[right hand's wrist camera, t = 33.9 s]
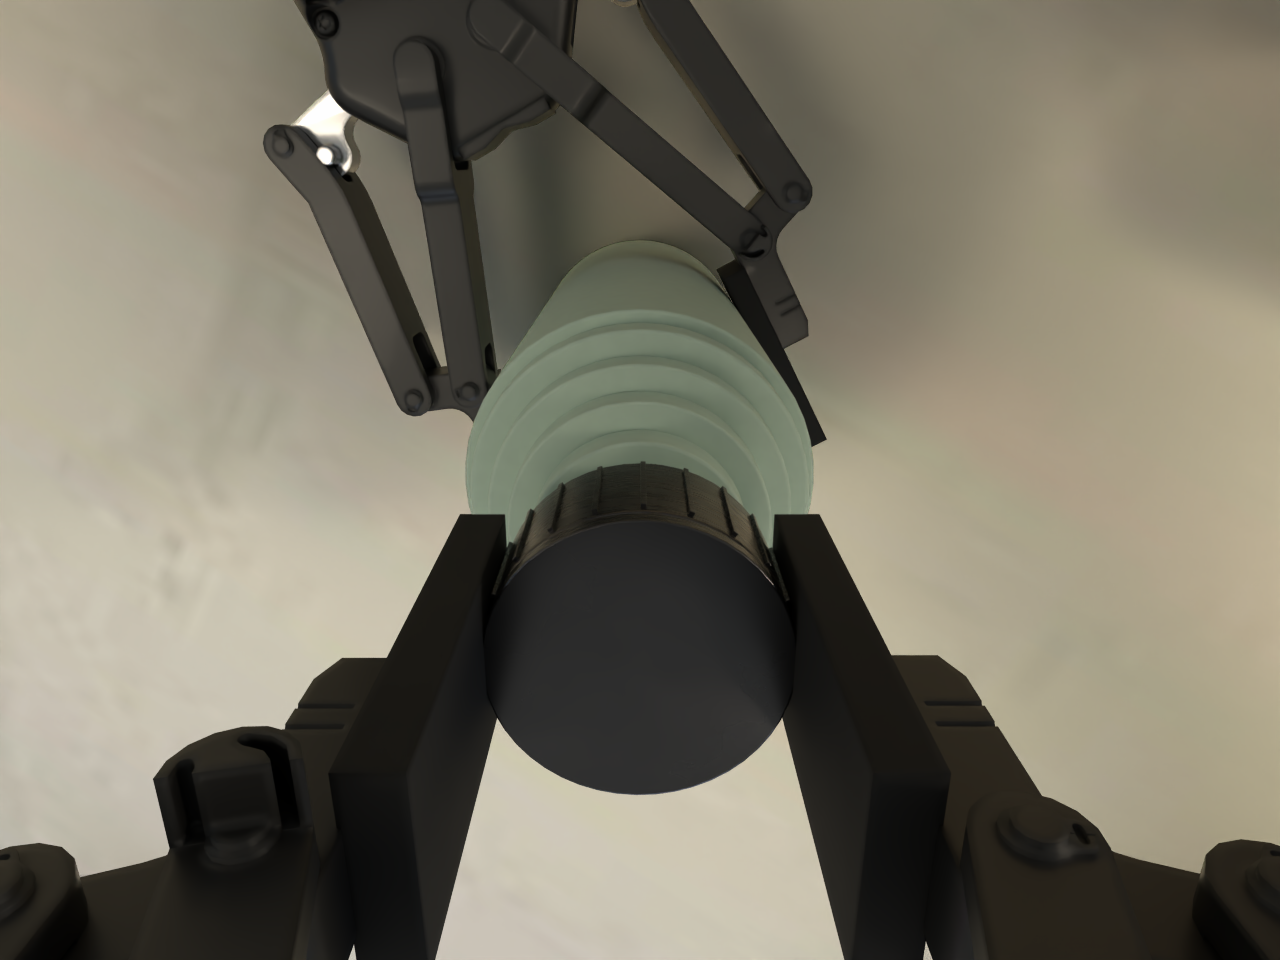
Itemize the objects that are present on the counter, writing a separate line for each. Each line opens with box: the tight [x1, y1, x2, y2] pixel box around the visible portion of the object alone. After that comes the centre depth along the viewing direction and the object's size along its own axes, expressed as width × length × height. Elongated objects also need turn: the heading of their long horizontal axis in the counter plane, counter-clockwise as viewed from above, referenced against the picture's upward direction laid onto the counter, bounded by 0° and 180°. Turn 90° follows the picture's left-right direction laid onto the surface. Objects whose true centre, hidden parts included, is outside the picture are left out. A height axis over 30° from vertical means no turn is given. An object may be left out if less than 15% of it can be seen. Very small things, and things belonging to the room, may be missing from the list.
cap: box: [483, 461, 796, 795], centre depth 14 cm, size 5×5×2 cm
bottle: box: [466, 240, 813, 548], centre depth 25 cm, size 8×8×24 cm
